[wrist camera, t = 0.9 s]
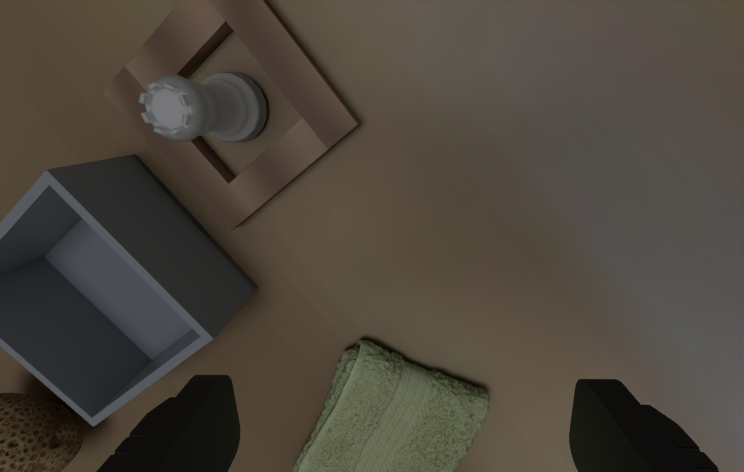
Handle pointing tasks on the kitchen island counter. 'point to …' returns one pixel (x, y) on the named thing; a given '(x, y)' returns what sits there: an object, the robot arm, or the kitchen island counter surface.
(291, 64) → the socket block
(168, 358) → the bin
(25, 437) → the natural sponge
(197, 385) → the robot arm
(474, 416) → the washcloth
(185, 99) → the rook chess piece
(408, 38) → the kitchen island counter surface
